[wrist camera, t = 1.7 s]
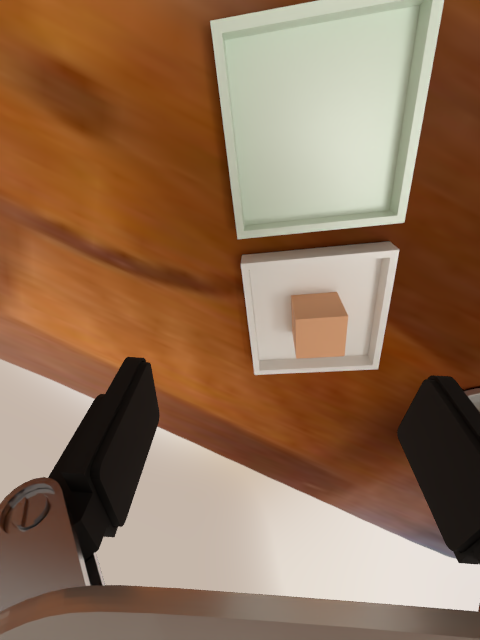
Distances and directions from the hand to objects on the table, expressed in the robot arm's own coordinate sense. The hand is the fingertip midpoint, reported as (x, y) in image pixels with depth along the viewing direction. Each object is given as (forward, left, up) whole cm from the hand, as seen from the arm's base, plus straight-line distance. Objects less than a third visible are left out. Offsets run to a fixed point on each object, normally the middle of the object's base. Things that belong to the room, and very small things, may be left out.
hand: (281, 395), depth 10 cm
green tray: (-5, -7, -23) cm, 24 cm away
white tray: (-5, +11, -23) cm, 25 cm away
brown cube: (-5, +11, -22) cm, 25 cm away
